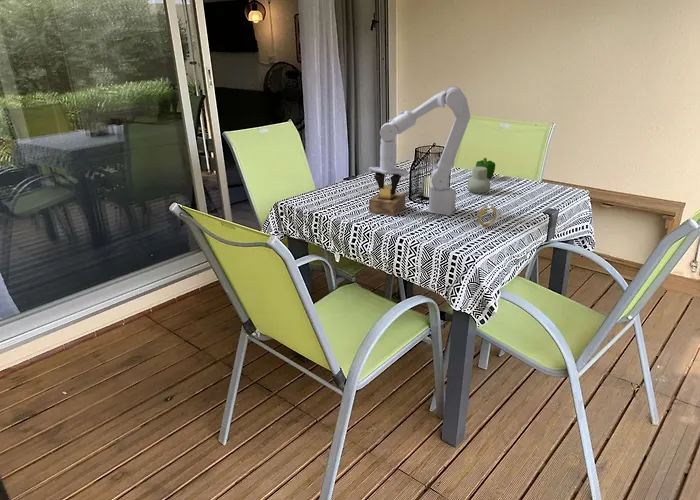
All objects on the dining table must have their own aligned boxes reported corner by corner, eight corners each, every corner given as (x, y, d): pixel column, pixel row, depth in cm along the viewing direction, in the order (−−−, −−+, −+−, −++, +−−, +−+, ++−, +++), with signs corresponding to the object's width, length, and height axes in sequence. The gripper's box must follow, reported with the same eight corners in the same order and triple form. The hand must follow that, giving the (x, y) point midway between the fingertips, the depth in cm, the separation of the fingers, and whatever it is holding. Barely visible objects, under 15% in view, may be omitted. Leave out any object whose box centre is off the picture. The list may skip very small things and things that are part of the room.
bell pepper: (482, 175, 236) (484, 154, 232) (497, 178, 230) (499, 156, 226) (470, 178, 231) (472, 156, 227) (485, 182, 225) (487, 159, 221)
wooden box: (405, 206, 196) (405, 194, 194) (394, 216, 186) (394, 202, 184) (381, 203, 200) (381, 191, 198) (369, 212, 190) (369, 199, 188)
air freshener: (490, 195, 207) (492, 171, 203) (469, 195, 208) (471, 171, 204) (486, 188, 217) (488, 165, 213) (466, 188, 218) (468, 164, 214)
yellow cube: (395, 196, 192) (395, 186, 191) (390, 200, 188) (390, 189, 187) (385, 195, 194) (385, 185, 192) (380, 198, 190) (380, 188, 188)
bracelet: (494, 224, 176) (496, 202, 173) (498, 227, 173) (500, 204, 170) (475, 225, 175) (477, 203, 172) (479, 229, 172) (481, 206, 169)
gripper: (365, 157, 185) (365, 194, 190) (403, 161, 179) (402, 198, 184) (372, 153, 191) (373, 189, 196) (409, 156, 185) (408, 193, 190)
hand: (387, 193), depth 191 cm, fingers closed on yellow cube, 4 cm apart
